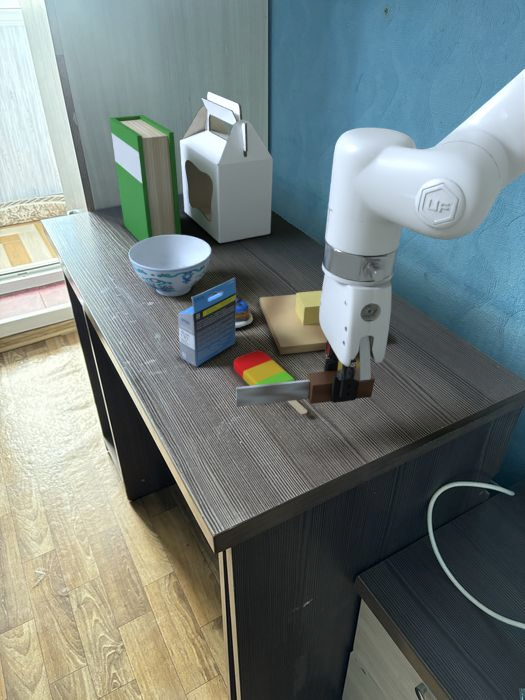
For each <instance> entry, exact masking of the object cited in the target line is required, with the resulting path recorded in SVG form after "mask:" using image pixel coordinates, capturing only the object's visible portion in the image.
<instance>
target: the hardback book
mask: <svg viewBox="0 0 525 700" xmlns="http://www.w3.org/2000/svg"><path fill="white" fill-rule="evenodd" d="M108 119H109V126H110V133H111V141H112V147H113V148H112V149H113V155H114V162H115V168H116V175H117V183H118V191H119V199H120V205H121V213H122V219H123V226H124V227H125V228H126V229H127V230H128V231H129V233H131V234H132V236H134V237H135V239H136V240H137V241H138V242H140V241H142V240H144V239H147V238H151V237H155V236H161V235H182V229H181V228H182V226H181V213H180V199H179V185H178V173H177V160H176V159H177V158H176V147H175V133H174V131H172V130H170V129H169V128H167V127H166V126H164V125H162V124H160V123H158V122H156V121H154V120H152V119H151V118H149V117H147V116H146V115H144V114H137V115H126V116H113V117H109V118H108Z"/></svg>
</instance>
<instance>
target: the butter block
mask: <svg viewBox="0 0 525 700" xmlns="http://www.w3.org/2000/svg"><path fill="white" fill-rule="evenodd" d="M321 293H322V290H313V291H302V292H301V291H300V292H296V293H295V294H296V308H295V310H296V312H297V314H298V316H299V318H300V320H301V322H302V324H303V325H310V324H320V321H319V311H320V300H321Z"/></svg>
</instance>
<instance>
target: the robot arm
mask: <svg viewBox="0 0 525 700" xmlns="http://www.w3.org/2000/svg"><path fill="white" fill-rule="evenodd" d="M333 151H334V152H333V159H332V168H331V178H330V186H329V187H330V188H329V196H328V206H327V216H326V225H325V234H324V244H323V254H322V261H321V269H322V272H323V273H324V276H323V282H322V287H321V291H322V293H321V300H320V311H319V321H320V325H321V328H322V330H323V332H324V334H325V336H326V338H327V342H326V349H325V350H324V352H325V357H326V358H325V360H324V367H323V372H325V371H335V370H337V374H336V375H334V377H333V384H332V391H331V401H332V402H331V403H334V404H335V403H342V402H343V403H344V402H350V401H351V402H352V401H356V400H357V399H356V398H357V393H358V387H359V382H365V381H370V380H371V373H372V370H371V368H372V367H371V359H372V361H373V362H374V364H381V363H383V361H384V360H385V355H386V351H387V345H388V337H389V331H390V324H391V314H392V297H393V296H392V295H393V293H392V282H391V279H392V278H393V277H394V272H395V266H396V263H397V262H396V261H397V258H398V252H399V246H400V242H401V237H402V236H401V235H402V232H403V228H405V229H407V230H409V231H412V232H414V233H416V234H419V235H422V236H425V237H427V238H431V239H435V240H443V241H448V240H449V241H450V240H457V239H461V238H463V237H465V236H467V235H469V234H471V233H473V232H474V231H475V230H476V229H478V228H479V227H480V225H482V223H483V222H484V221H485V220H486V218H487V216H488V215H489V213H490V212H491V210H492V208H493V206H494V204H495V202H496V200H497V197H498V196H499V194H500V193H501V191H502V190H503V189H504V188H506V187H507V186H509V185H510V184H511V183H512V182H514V181H515V180H516V179H518V178H519V177H521V175H523V174H525V68H524V69H523V70H521V72H519V73H518V74H517V75H516V76H515V77H514V78H512V79H511V80H510V81H509V82H508V83H507V84H505V86H503V87H502V88H501V89H500V90H498V91H497V93H495V94H494V95H493V96H492V97H490V99H489V100H487V101H486V102H485V103H484V104H482V106H481V107H479V108H478V109H477V110H476V111H474V113H472V114H471V115H470V116H468V117H467V118H466V119H465V120H464V121H463V122H462V123H460V124H459V125H458V126H457V127H456V128H454V129H453V130H452V131H451V132H450V133H449V134H448V135H446V136H445V137H443V139H442V140H441V141H439V142H438V143H437V144H436V145H434V146H432V147H428V148H424V149H423V148H422V149H421V148H417V146H416V143H415V141H414V139H412V138H411V136H409V135H408V134H406V133H404V132H402V131H399V130H395V129H390V128H385V127H384V128H383V127H357V128H353V129H349V130H347V131H345V132H343V133H342V134H341V135H340V136H339V137H338V138H337V141H336V142H335V146H334V150H333ZM352 363H355V366H351V365H352Z"/></svg>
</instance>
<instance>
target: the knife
mask: <svg viewBox="0 0 525 700" xmlns="http://www.w3.org/2000/svg"><path fill="white" fill-rule="evenodd" d="M336 374H337V370H335V371H325V372H324V371H316V372H307V374H306V379H301V380H296V381H290V382H281V383H271V384H262V385H252V386H250V385H244V386H236V387H235V407H236V408H239V407H246V406H247V407H248V406H256V405H266V404H275V403H284V402H287V401H293V400H296V401H301V400H308V401H309V404H310V405H312V404H314V405H315V404H322V403H330V402H331V403H333V402H332V401H331V391H332V384H333V377H334V375H336ZM375 381H376V377H375V376H374V374H373V372H371V380H370V381H365V382H359V387H358V393H357V398H356V399H355V400H357V399H364V398H365V399H366V398H371V397H372V394H373V390H374V385H375Z"/></svg>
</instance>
